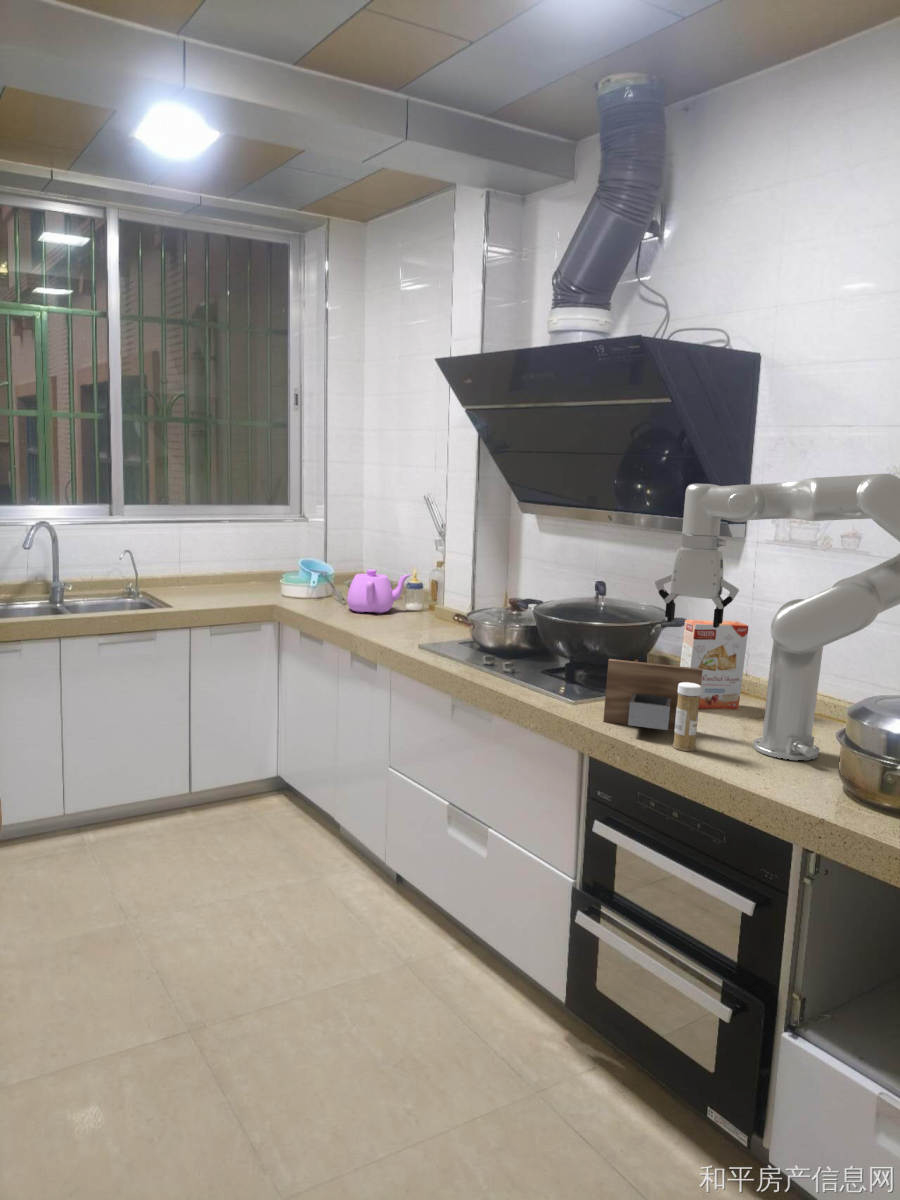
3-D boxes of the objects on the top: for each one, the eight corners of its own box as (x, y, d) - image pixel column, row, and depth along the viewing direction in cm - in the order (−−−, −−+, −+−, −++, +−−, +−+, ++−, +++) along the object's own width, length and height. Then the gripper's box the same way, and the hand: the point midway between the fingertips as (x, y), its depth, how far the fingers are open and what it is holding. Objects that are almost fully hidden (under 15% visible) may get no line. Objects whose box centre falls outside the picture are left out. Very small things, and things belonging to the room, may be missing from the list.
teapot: (344, 615, 317) (346, 572, 314) (348, 605, 337) (349, 565, 335) (410, 618, 318) (412, 576, 316) (409, 608, 339) (411, 568, 336)
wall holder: (695, 745, 189) (702, 679, 187) (598, 732, 194) (604, 668, 192) (696, 731, 199) (702, 668, 197) (604, 719, 204) (609, 658, 202)
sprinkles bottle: (698, 752, 184) (704, 687, 182) (676, 751, 184) (682, 686, 182) (691, 745, 189) (697, 681, 187) (669, 744, 188) (675, 681, 186)
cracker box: (686, 710, 217) (694, 623, 213) (675, 703, 222) (683, 618, 219) (740, 709, 219) (749, 624, 216) (728, 703, 225) (736, 619, 222)
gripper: (746, 545, 190) (738, 626, 192) (663, 539, 198) (657, 617, 200) (738, 547, 183) (731, 631, 186) (654, 541, 191) (647, 621, 194)
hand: (693, 624), depth 193 cm, fingers open, 9 cm apart
